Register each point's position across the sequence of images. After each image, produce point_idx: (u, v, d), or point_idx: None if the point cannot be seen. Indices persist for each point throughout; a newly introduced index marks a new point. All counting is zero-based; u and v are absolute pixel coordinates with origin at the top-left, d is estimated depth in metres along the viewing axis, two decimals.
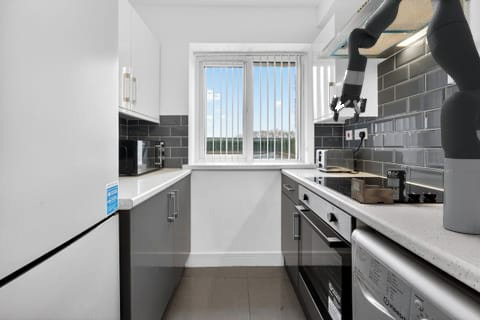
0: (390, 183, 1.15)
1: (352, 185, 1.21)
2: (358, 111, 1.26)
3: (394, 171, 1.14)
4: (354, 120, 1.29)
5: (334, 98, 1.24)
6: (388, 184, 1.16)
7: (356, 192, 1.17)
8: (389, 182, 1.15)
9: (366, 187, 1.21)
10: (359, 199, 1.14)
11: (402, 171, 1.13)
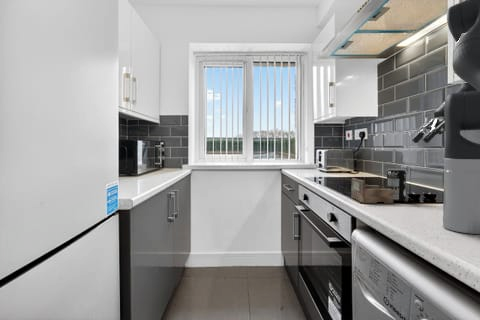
0: (390, 183, 1.15)
1: (352, 185, 1.21)
2: (432, 129, 1.12)
3: (394, 171, 1.14)
4: None
5: None
6: (388, 184, 1.16)
7: (356, 192, 1.17)
8: (389, 182, 1.15)
9: (366, 187, 1.21)
10: (359, 199, 1.14)
11: (402, 171, 1.13)
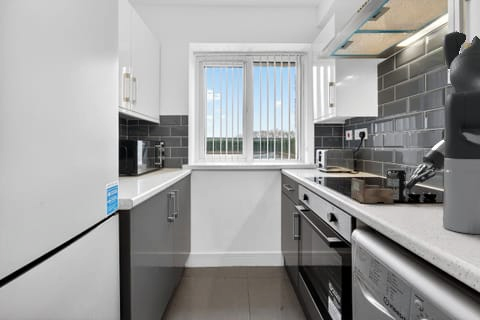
0: (390, 183, 1.15)
1: (352, 185, 1.21)
2: (414, 176, 1.15)
3: (394, 171, 1.14)
4: None
5: None
6: (388, 184, 1.16)
7: (356, 192, 1.17)
8: (389, 182, 1.15)
9: (366, 187, 1.21)
10: (359, 199, 1.14)
11: (402, 171, 1.13)
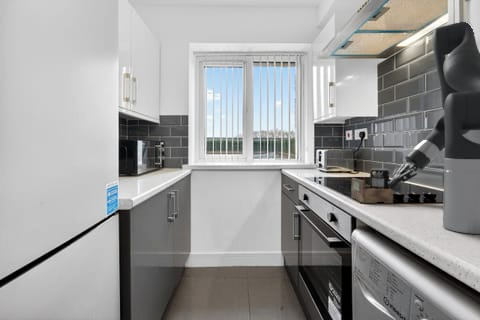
0: (375, 183, 1.14)
1: (352, 185, 1.21)
2: (396, 176, 1.16)
3: (379, 171, 1.13)
4: None
5: None
6: (373, 184, 1.15)
7: (356, 192, 1.17)
8: (374, 182, 1.14)
9: (366, 187, 1.21)
10: (359, 199, 1.14)
11: (386, 171, 1.13)
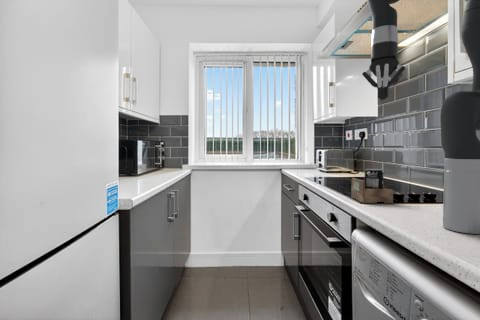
0: (369, 183, 1.14)
1: (352, 185, 1.21)
2: (383, 83, 0.95)
3: (373, 171, 1.13)
4: None
5: (364, 76, 0.99)
6: (367, 184, 1.15)
7: (356, 192, 1.17)
8: (369, 182, 1.14)
9: None
10: (359, 199, 1.14)
11: (380, 171, 1.13)
